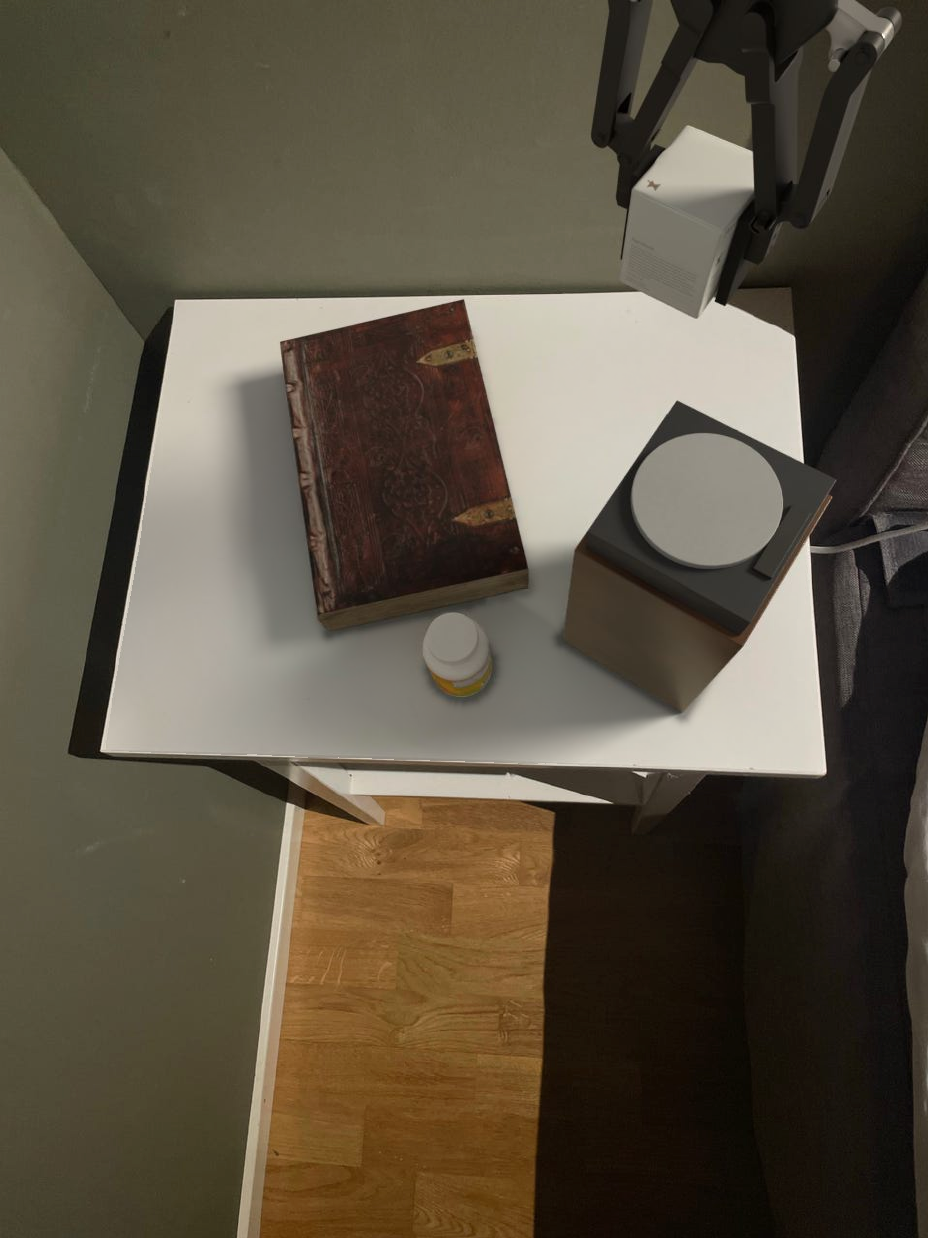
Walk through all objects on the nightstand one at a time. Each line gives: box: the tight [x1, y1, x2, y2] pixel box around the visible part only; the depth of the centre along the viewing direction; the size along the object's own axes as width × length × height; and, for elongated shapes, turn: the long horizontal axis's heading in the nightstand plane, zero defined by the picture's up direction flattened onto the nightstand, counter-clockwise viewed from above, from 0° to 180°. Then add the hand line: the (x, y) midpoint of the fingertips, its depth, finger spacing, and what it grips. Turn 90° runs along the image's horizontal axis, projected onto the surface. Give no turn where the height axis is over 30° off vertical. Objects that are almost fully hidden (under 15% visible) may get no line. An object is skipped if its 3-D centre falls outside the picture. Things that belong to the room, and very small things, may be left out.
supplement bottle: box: [422, 611, 493, 698], centre depth 64 cm, size 5×5×10 cm
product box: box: [618, 124, 754, 320], centre depth 48 cm, size 6×6×7 cm
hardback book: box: [279, 298, 530, 632], centre depth 73 cm, size 29×19×5 cm, turn 11°
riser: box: [562, 415, 833, 713], centre depth 60 cm, size 12×12×20 cm
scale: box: [585, 400, 837, 635], centre depth 49 cm, size 11×11×3 cm
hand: (682, 267), depth 51 cm, fingers closed on product box, 6 cm apart
